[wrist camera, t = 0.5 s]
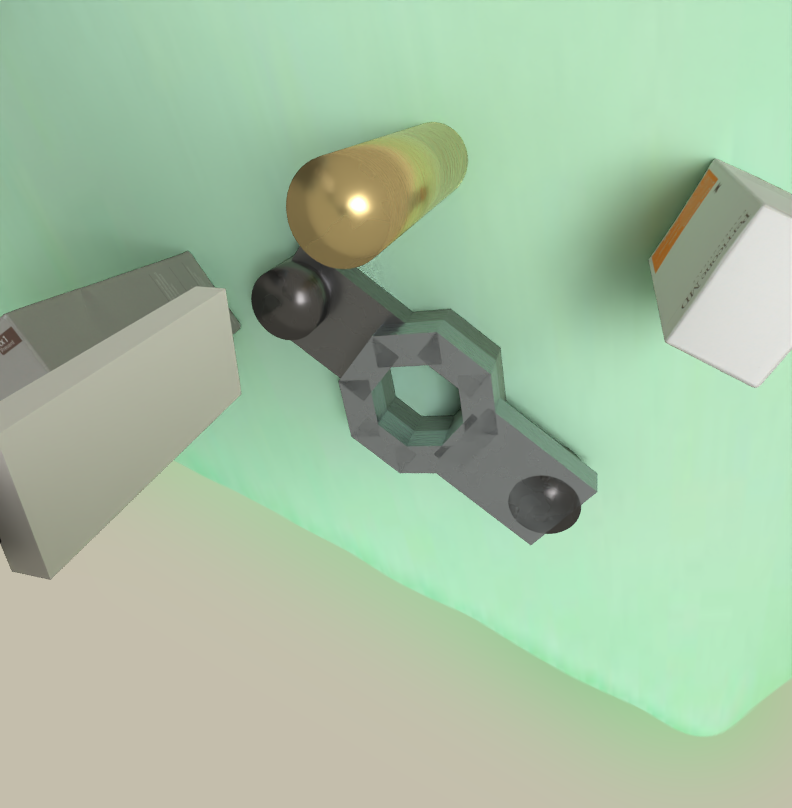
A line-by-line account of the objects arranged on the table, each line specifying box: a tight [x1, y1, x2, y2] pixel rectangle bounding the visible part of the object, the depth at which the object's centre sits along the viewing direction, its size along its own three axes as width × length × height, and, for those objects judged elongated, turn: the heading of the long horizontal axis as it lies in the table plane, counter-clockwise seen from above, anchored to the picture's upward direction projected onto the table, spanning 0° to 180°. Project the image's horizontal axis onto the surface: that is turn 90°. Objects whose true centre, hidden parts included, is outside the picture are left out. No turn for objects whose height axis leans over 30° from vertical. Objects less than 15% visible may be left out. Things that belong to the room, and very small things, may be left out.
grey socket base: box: [251, 247, 597, 545], centre depth 40 cm, size 24×10×4 cm, turn 55°
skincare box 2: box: [649, 159, 792, 388], centre depth 28 cm, size 6×4×12 cm
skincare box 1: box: [0, 251, 241, 401], centre depth 38 cm, size 8×7×16 cm
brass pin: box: [286, 122, 468, 269], centre depth 29 cm, size 4×4×15 cm
